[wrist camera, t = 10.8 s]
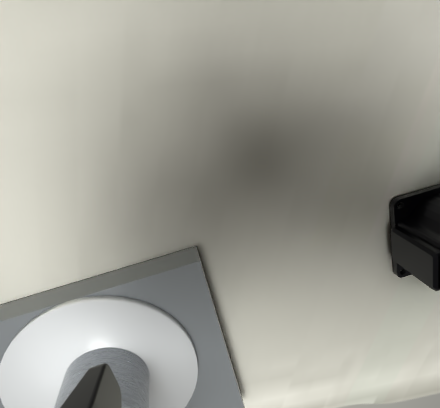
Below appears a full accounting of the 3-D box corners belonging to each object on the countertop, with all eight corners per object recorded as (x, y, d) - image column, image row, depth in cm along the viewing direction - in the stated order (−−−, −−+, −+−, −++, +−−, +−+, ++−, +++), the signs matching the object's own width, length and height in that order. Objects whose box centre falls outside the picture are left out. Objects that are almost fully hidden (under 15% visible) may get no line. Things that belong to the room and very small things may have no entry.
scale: (196, 246, 22) (209, 302, 16) (240, 393, 27) (262, 475, 21) (-52, 320, 20) (-133, 409, 15) (44, 460, 26) (12, 567, 20)
